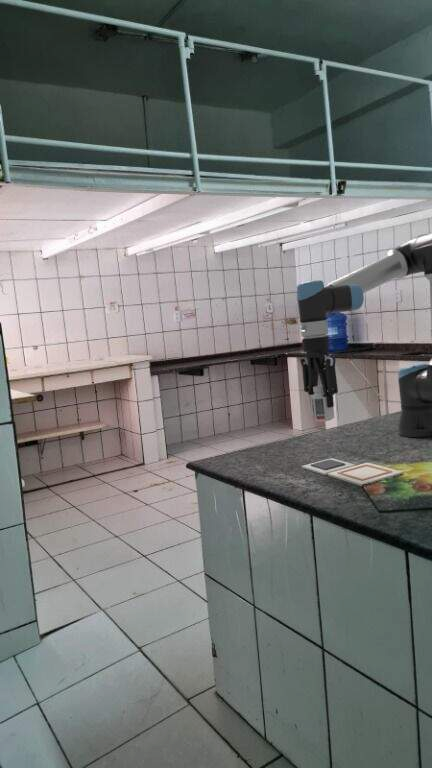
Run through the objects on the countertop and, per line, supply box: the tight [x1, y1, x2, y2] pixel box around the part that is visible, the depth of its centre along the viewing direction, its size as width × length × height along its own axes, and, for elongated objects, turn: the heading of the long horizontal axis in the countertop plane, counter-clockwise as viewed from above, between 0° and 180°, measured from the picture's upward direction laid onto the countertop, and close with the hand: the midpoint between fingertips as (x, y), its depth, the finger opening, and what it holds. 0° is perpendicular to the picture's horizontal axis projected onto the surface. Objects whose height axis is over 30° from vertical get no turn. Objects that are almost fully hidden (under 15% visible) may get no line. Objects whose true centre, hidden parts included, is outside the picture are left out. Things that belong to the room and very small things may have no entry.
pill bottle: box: [312, 384, 334, 423], centre depth 161 cm, size 5×5×10 cm
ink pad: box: [300, 457, 356, 476], centre depth 163 cm, size 11×11×1 cm
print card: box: [327, 462, 404, 487], centre depth 152 cm, size 14×14×1 cm
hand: (323, 417), depth 161 cm, fingers closed on pill bottle, 5 cm apart
